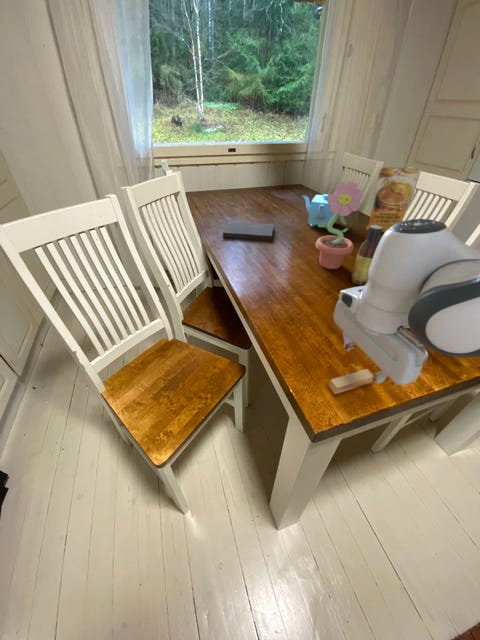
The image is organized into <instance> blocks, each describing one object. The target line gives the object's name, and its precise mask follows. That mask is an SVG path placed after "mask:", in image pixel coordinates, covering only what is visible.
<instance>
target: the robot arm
mask: <svg viewBox="0 0 480 640" xmlns="http://www.w3.org/2000/svg"><path fill="white" fill-rule="evenodd" d="M332 317H333V322H334V324H335V325H336V326H337V327H338V328H339V329H340V330H341V331H342V337H343V342H344V343H343V346H342V348H343V349H344V350H345V351H346V352H348V353H349V352H353V351H354V350H355V347H356V346H357V347H358V348H359V349H360V350H361V351H362V352H363V353H364V354H365V355H366V356H367V357H368V359H370V360H371V361H372V362H373V363H374V364H375V365H376V366H377V367H378V368H379V369H380V371H378V372H374V373H373V377H372V379H373V380H372V381H374V382H375V383H376V384H377V385H379V384H383V383H384V382H385V380H387V379H386V378H387V377H388V378H389V379H390V380H392V382H393V383H394V384H395V385H396V386H397V385H398V386H405V385H408V384H411V383H413V382H416V381H417V379H418V378H419V376H420V374H421V371H422V370H423V369H422V368H423V366H424V364H425V363H426V361H427V359H428V358H429V351H428V350H427V349H429V350H431V351H432V352H436V353H438V354H441V355H444V356H448V357H454V358H477V357H480V250H478V249H476V248H474V247H472V246H470V245H468V244H466V243H465V242H463V241H462V240H461V239H459V238H458V237H457V236H456V235H455V234H454V233H453V232H452V231H451V230H450V228H449V227H448V226H447V224H446V223H444V222H442V221H438V220H434V219H429V218H428V219H427V218H413V219H407V220H403V221H401V222H399V223H396V224H395V225H393V226H392V227H390V228H389V229H388V230H387V231H386V232H383V235H382V236H381V238H380V239H379V244H378V246H377V248H376V251H375V253H374V256H373V259H372V262H371V264H370V267H369V271H368V282H367V284H366V285H358V286H354V287H349V288H345V289H341V290H340V291H339V295H338V300H337V301H336V304H335V307H334V311H333V316H332ZM407 324H409V328H406V326H407ZM408 329H409V330H408Z"/></svg>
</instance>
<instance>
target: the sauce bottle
mask: <svg viewBox="0 0 480 640" xmlns="http://www.w3.org/2000/svg"><path fill="white" fill-rule="evenodd" d="M382 229H383V228H382V227H381V226H377V225H371V226H369V229H368V230H367V236H366V237H365V241H364V242H362V244H360V246H359V250H358V253H357V255H356V260H355V263H354V266H353V271H352V274H351V282H352V283H353V284H354V285H357V286H365V285H366V284H367V282H368V271H369V267H370V264H371V262H372V259H373V256H374V253H375V251H376V248H377V246H378V244H379V242H380V237H381V234H382V233H383V232H382Z"/></svg>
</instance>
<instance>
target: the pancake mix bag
mask: <svg viewBox="0 0 480 640" xmlns="http://www.w3.org/2000/svg"><path fill="white" fill-rule="evenodd" d="M378 172H379V173H378V175H377V179H376V186H375V191H374V196H373V205H372V207H371V212H370V218H369V222H368V224H367V226H366V229H365V230H366V231H368V229H369V226H371V225H377V226H381V227H382V228H383V229H382V232H381V233H385V232H386V231H387V230H388V229H389V228H390V227H392V226H393V225H395V224H396V223H399V222H401V221H404V219H405V216H406V214H407V211H408V209H409V206H410V205H411V204H410V203H411V202H412V199H413V197H414V195H415V191H416V187H417V184H418V180H419V177H420V173H421V170H419V168H415V167H413V168H411V167H408V168H407V167H382V168H380V169H379V171H378Z"/></svg>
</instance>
